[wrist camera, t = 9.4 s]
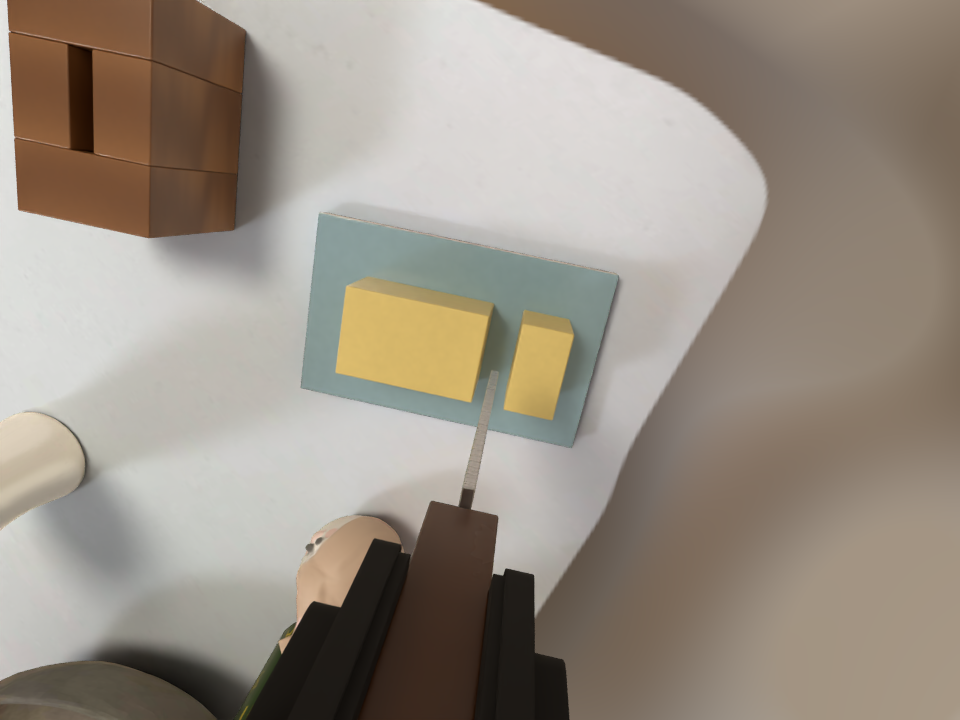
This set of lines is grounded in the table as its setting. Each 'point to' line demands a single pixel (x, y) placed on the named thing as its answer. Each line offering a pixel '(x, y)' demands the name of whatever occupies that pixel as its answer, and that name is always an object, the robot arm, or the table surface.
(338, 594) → the garlic bulb
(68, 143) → the knife block
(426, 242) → the butter dish
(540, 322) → the butter slice
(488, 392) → the knife
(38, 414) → the beer glass
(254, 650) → the table surface
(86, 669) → the bowl
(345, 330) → the butter
